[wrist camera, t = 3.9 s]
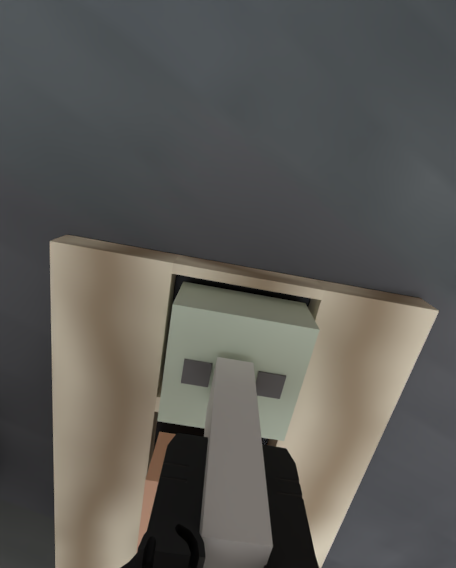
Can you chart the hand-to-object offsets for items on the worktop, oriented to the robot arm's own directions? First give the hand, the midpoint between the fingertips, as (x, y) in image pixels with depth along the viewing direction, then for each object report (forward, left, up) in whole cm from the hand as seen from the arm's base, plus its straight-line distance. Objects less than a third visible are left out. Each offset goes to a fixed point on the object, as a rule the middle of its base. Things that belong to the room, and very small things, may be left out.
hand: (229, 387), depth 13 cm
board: (0, -8, -4) cm, 9 cm away
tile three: (0, 0, -3) cm, 3 cm away
